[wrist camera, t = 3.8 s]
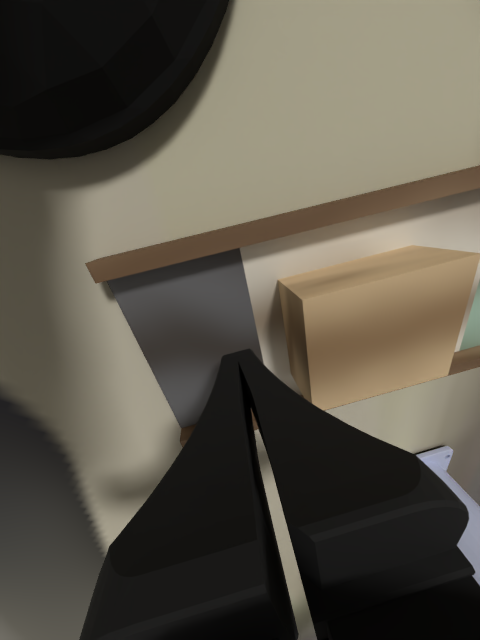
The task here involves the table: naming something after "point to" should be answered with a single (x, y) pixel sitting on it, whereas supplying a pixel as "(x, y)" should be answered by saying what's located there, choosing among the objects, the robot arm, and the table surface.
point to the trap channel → (276, 280)
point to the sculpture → (95, 69)
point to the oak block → (375, 322)
